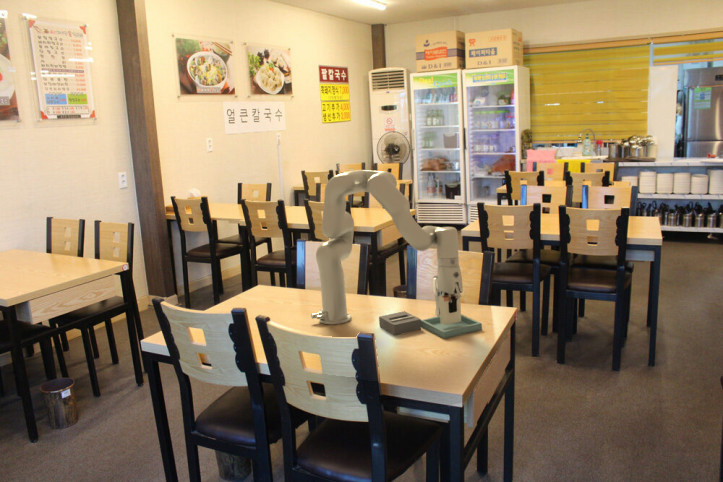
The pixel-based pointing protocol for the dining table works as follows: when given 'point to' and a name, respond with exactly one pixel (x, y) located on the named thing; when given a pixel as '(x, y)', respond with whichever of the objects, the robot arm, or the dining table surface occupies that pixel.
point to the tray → (451, 326)
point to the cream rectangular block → (444, 311)
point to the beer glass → (436, 295)
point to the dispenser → (400, 323)
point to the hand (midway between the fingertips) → (450, 310)
